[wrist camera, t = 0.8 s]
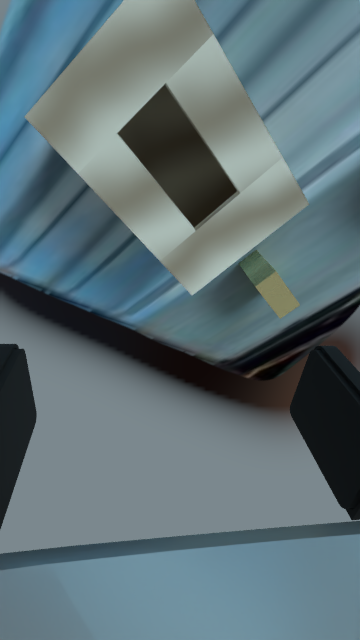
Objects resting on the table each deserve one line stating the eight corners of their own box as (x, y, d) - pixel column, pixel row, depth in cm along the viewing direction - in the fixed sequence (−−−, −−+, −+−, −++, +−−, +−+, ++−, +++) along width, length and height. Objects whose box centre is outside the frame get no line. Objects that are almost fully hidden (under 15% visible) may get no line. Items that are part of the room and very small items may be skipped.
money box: (263, 182, 32) (309, 204, 23) (178, 253, 35) (192, 295, 26) (156, 9, 24) (166, -50, 16) (59, 118, 27) (24, 116, 19)
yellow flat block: (278, 280, 38) (300, 304, 33) (261, 292, 39) (280, 318, 34) (256, 250, 36) (276, 271, 31) (238, 263, 36) (255, 286, 31)
